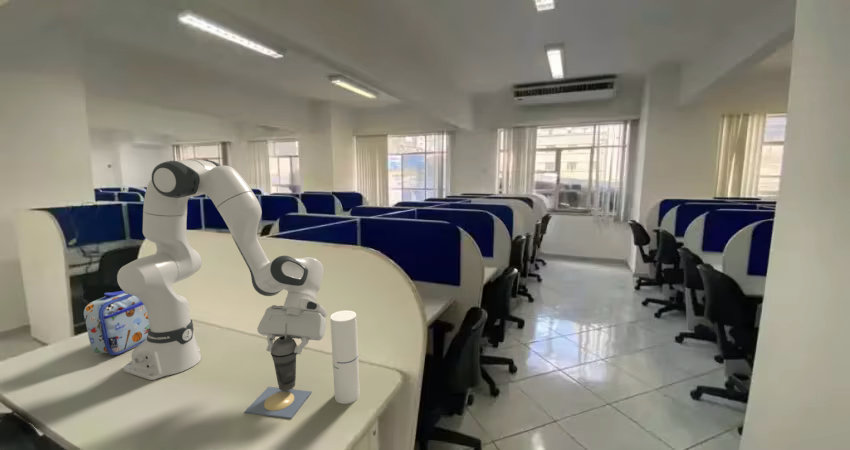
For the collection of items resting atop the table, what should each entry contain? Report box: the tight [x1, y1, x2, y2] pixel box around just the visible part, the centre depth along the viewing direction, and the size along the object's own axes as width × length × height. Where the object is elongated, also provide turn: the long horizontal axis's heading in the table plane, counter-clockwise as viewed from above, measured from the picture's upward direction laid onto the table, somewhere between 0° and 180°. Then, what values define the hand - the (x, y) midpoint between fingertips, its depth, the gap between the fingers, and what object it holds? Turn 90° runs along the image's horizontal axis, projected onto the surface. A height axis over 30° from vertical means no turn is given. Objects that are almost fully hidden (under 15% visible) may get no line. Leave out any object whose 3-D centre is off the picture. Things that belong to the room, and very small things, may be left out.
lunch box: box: [83, 290, 150, 356], centre depth 132 cm, size 28×10×22 cm, turn 169°
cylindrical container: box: [330, 309, 361, 405], centre depth 101 cm, size 7×7×25 cm
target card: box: [244, 386, 313, 420], centre depth 100 cm, size 14×11×1 cm
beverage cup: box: [270, 323, 298, 391], centre depth 102 cm, size 7×7×20 cm
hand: (283, 352), depth 102 cm, fingers closed on beverage cup, 7 cm apart
